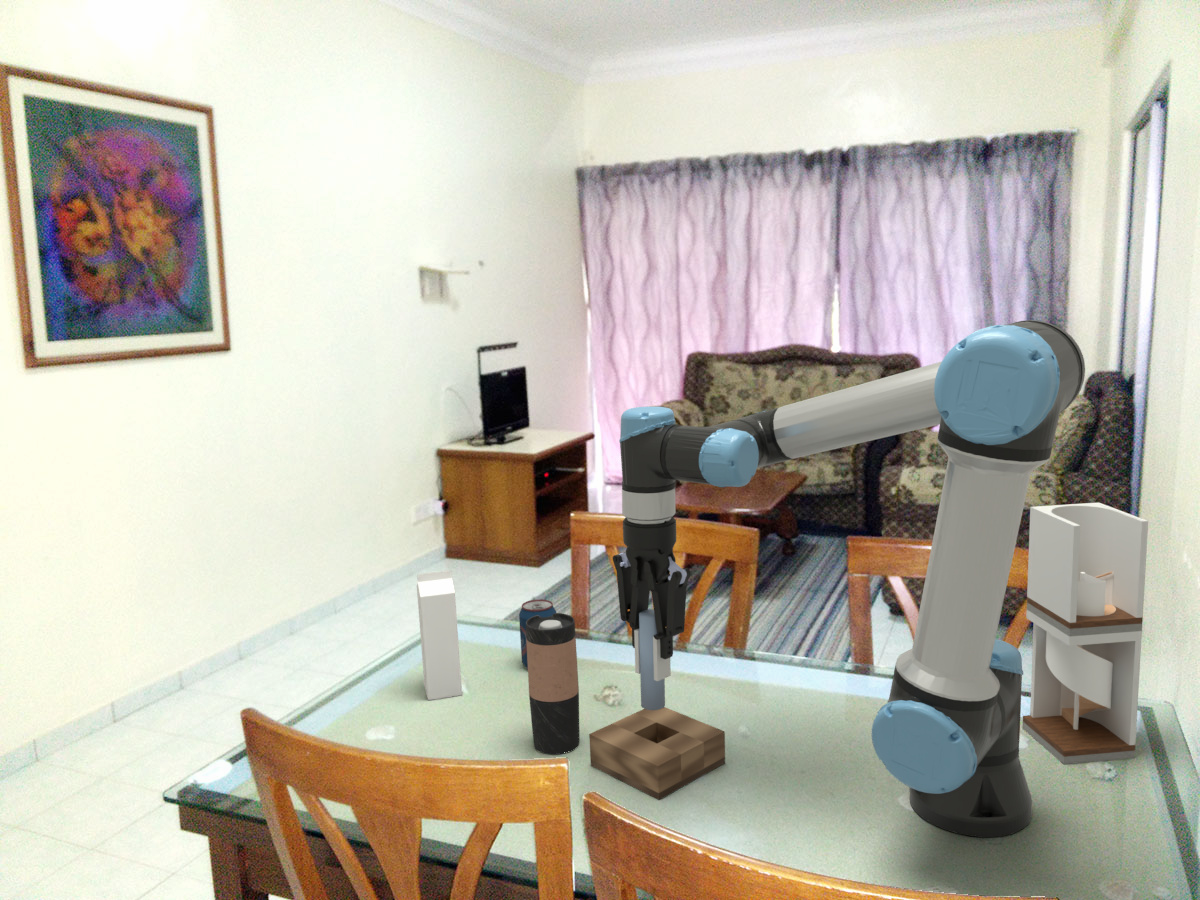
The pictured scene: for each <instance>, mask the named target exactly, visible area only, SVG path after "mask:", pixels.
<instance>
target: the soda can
mask: <svg viewBox="0 0 1200 900" xmlns="http://www.w3.org/2000/svg"><path fill="white" fill-rule="evenodd" d="M554 613H557V610H556V608H555V607H554V603H553V601H551V600H548V599H531V600H527V601H525V602H523V603H522V604H521V609H520V611H519V613H518V617H519V635H520V636H519V637H520V651H521V653H520V656H521V663H522V664H523V665H524V667H525V669H527V670H528V662H527V641H526V621H527V620H528V619H529V618H531V617H533V616H536V615H539V616H540V617H549V616H552V615H553V614H554Z"/></svg>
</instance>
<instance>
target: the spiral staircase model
mask: <svg viewBox="0 0 1200 900" xmlns="http://www.w3.org/2000/svg"><path fill="white" fill-rule="evenodd" d="M1029 510H1030V511H1029V532H1028V534H1029V536H1028V537H1029V538H1028V562H1027V564H1028V566H1027V589H1026V615H1025V616H1026V619H1027V620H1029V621H1030V622H1031V623H1033V625H1032V626H1033V627H1032V629H1033V630H1032V631H1033V632H1032V655H1031V657H1032V659H1031V682H1030V684H1031V685H1030V705H1029V706H1030V708H1029V710H1030V713H1029V714H1030V715H1022V726H1021V727H1022V729H1023V730H1024V732H1026V733H1027V734H1028V735H1030V737H1032V738H1033V739H1034V740H1035V741H1037V743H1038V744H1040V745H1041V746H1042V747H1043V748H1044V749H1045V750H1046V751H1048V753H1051V754H1050V755H1052V756H1053V757H1054V758H1056V759H1057V760H1058V761H1059V762H1060V763H1062V764H1063V765H1070V764H1071V765H1073V764H1074V765H1075V764H1082V763H1083V764H1084V763H1097V762H1106V761H1117V760H1130V759H1135V756H1136V740H1137V739H1136V738H1137V725H1138V724H1137V722H1138V709H1139V708H1138V705H1139V690H1140V689H1139V687H1140V672H1141V655H1142V654H1141V653H1142V652H1141V651H1142V637H1143V636H1142V635H1143V623H1144V622H1143V619H1144V618H1143V617H1144V602H1145V585H1146V567H1147V550H1148V549H1147V548H1148V536H1149V535H1148V533H1149V532H1148V531H1149V520H1147V519H1144V518H1142V517H1139V516H1136V515H1134V514H1131V513H1128V512H1126V511H1122V510H1120V509H1117V508H1115V507H1112V506H1110V505H1107V504H1103V503H1101V502H1099V501H1098V502H1087V503H1085V502H1084V503H1071V504H1056V505H1055V504H1054V505H1039V506H1037V505H1035V506H1030V509H1029Z"/></svg>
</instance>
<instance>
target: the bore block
mask: <svg viewBox="0 0 1200 900" xmlns="http://www.w3.org/2000/svg"><path fill="white" fill-rule="evenodd" d="M725 735H726V734H725V731H724V730H722V729H719V728H717V727H715V726H712V725H711V724H710V725H709V724H707V723H705V722H704V721H703V722H702V721H700V720H697V719H696V718H692V717H690V716H687V715H685V714H683V713H680V712H678V711H675V710H673V709H670V708H668V707H666V706H664V708H662V709H659V710H647V709H644V708H643V709H641V710H639V711H636V712H634V713H631V714H629V715H627V716H625V717H623V718H621V719H619V720H617V721H615V722H612V723H610V724H608V725H606V726H603V727H602V728H599V729H597V730H595V731H593V732H590V733H589V735H588V736H589V737H588V738H589V755H590V756H589V757H590V766H591V767H593V768H594V769H597V770H599V771H601V772H603V773H605V774H607V775H609V776H610V777H612V778H615V779H617V780H619V781H621V782H623V783H625V784H626V785H628V786H630V787H632V788H635V789H636V790H639V791H640V792H643V793H645V794H646V795H649V796H651V797H652V798H655V799H656V800H658V801H659V800H662V799H664V798H665V797H666V796H668V795H670V794H672V793H674V792H676V791H678V790H680V789H681V788H683V787H685V786H687V785H688V783H689V784H690V783H692V782H694V781H696V780H697V779H699V778H701V777H703V776H704V775H707V774H709V773H710V772H712V771H713V770H715V769H718V768H719V767H720V766H723V765H724V764H726V738H725V737H726V736H725ZM693 780H694V781H693ZM684 785H685V786H684ZM679 788H680V789H679Z"/></svg>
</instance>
